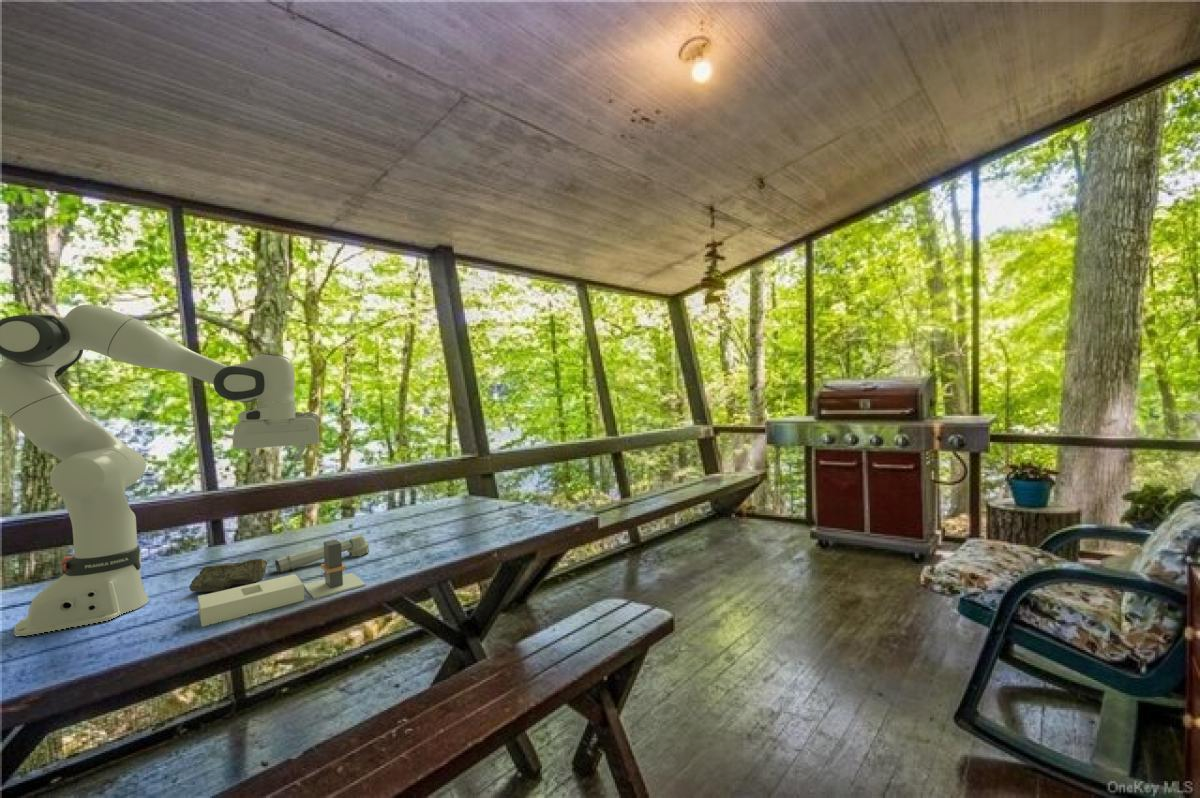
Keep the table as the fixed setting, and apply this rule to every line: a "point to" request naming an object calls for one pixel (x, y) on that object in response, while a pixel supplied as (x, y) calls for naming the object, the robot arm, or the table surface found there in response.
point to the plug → (333, 563)
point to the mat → (322, 589)
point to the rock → (228, 575)
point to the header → (249, 599)
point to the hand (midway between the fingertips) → (278, 462)
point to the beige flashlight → (322, 554)
